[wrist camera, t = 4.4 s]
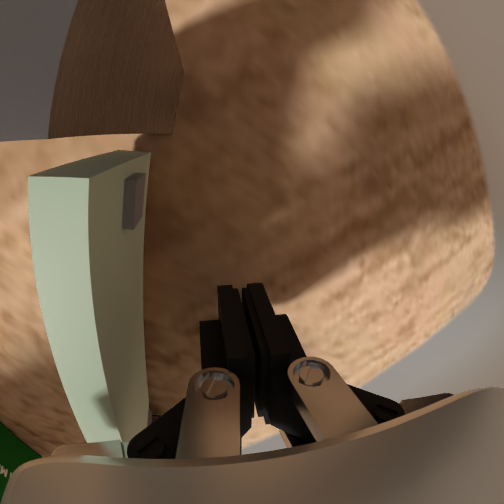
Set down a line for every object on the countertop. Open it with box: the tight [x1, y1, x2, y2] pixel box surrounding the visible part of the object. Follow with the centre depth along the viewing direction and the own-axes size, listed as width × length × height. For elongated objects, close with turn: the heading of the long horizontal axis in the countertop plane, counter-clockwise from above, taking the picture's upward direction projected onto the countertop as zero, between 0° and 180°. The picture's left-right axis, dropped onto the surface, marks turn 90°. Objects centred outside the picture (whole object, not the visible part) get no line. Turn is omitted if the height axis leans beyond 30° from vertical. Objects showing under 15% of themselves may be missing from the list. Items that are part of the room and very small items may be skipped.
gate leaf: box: [28, 150, 152, 443], centre depth 9 cm, size 2×14×6 cm, turn 170°
